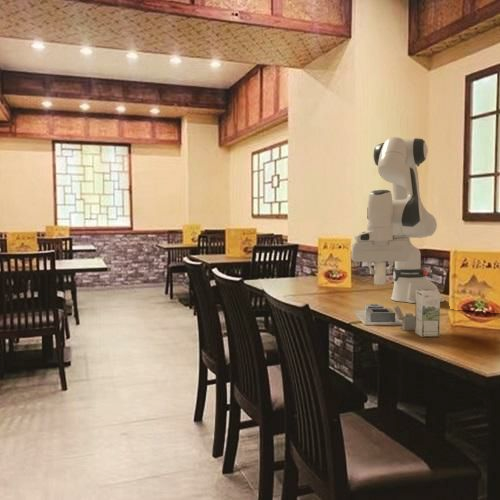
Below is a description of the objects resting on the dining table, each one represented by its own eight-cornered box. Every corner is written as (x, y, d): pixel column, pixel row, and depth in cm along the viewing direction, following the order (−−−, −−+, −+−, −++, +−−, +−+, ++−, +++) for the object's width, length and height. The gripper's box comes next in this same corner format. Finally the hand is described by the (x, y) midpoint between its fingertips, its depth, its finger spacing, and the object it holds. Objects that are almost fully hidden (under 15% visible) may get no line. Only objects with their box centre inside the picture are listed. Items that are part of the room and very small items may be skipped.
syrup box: (432, 332, 159) (432, 288, 158) (440, 337, 153) (440, 291, 152) (414, 333, 159) (415, 288, 158) (421, 337, 153) (422, 291, 152)
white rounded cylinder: (384, 283, 178) (384, 261, 177) (386, 284, 174) (386, 262, 173) (373, 283, 178) (373, 261, 178) (375, 284, 174) (375, 262, 174)
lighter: (414, 328, 165) (414, 305, 165) (416, 329, 164) (416, 306, 163) (393, 329, 165) (393, 305, 164) (395, 330, 163) (395, 306, 163)
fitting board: (388, 312, 193) (388, 302, 193) (402, 324, 171) (402, 313, 171) (354, 312, 194) (354, 302, 194) (364, 325, 172) (364, 313, 172)
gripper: (407, 234, 177) (407, 272, 178) (350, 235, 179) (350, 273, 179) (412, 235, 171) (411, 274, 172) (352, 236, 172) (352, 275, 173)
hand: (379, 274), depth 176 cm, fingers closed on white rounded cylinder, 4 cm apart
